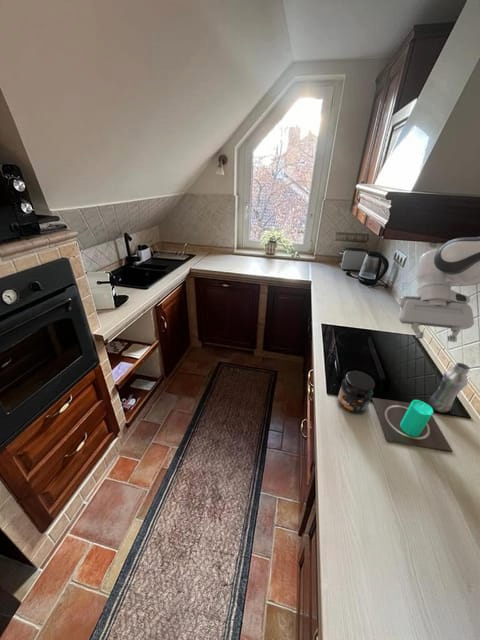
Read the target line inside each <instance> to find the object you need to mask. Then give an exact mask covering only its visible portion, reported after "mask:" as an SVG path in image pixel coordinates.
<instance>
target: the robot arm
mask: <svg viewBox="0 0 480 640" xmlns="http://www.w3.org/2000/svg"><path fill="white" fill-rule="evenodd" d="M416 281H417V284H418V285H417V289H416V292H417V293H416V296H415V295H414V296H411V295H404V296H402V297H400V299H399V306H400V309H399V315H398V320H399V322H400V323H401V324H407V325H410V326H411V327H410V328H411V329H412V330H413V332H414V333H415V338H416V339H423V338H424V336H425V335H424V331H422V330H421V329H420V326H427V327H434V328H435V327H436V328H444V329H450V331H451V334H450V335H447V342H450V343H455V342H457V341H458V339H457V338H458V335H459V333H460V332H461V330H467V329H471V328H473V326H474V325H475V324H474V323H475V320H474V319H475V318H474V312H473V309H472V307H471V305H470V304H469V303H470V302H471V298H470V297H469V296H468V295H465V294H463V293H460V292H457V291H455V290H453V289H452V287H467V286H474V285H477V284H480V236H476V237H475V236H473V237H472V236H471V237H469V236H467V237H457V238H454V239H451V240H448V241H447V242H445V243H443V244H442V245H441V246H440V247H439V248H436V249H435V248H434V249H432V250H429V251H426V252H424V253H422V255H420V257H419V258H418V261H417V265H416Z"/></svg>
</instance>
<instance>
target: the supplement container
mask: <svg viewBox="0 0 480 640" xmlns="http://www.w3.org/2000/svg"><path fill="white" fill-rule="evenodd" d="M375 386H376V383H375V380H374V379H373V378H372V376H370V375H369V374H367V373H365V372H363V371H360V370H351V371H348V372H347V373H346V374H345V376H344V378H343V379H342V381H341V384H340V389H339V391H338V394H337V402H338V404H339V406H340V407H341V408H342V409H343V410H345V411H346V412H348V413H351V414H354V415H361V414H364V413H366V412H367V410H368V408H369V406H370V402H371V401H372V398H373V396H374V394H375V390H374V389H375Z"/></svg>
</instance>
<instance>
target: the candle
mask: <svg viewBox="0 0 480 640" xmlns="http://www.w3.org/2000/svg"><path fill="white" fill-rule="evenodd" d="M410 403H411V404H410V406H409V408H408V409H407V411H406V413H405V415H404V417H403V419H402V421H401V423H400V427H401V429H402V430H403V431H404V432H405V433H407V434H408V435H411V436H419V435H420V434H421V432H422V430H423V429H424V427H425V425H426V424H427V422H428V421H429V419H430V417H431V416H433V414H434V409H433V408H431V406H430V404H429V403H426V402H424V401H422V400H420V399H412V401H411V402H410Z"/></svg>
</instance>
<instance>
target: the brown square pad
mask: <svg viewBox="0 0 480 640" xmlns="http://www.w3.org/2000/svg"><path fill="white" fill-rule="evenodd" d="M371 402H372V405H373V407H374V410H375V412H376V415H377V416H376V417H377V419H378V421H379V424H380V427H381V430H382V433H383V435H384V439H385V441H386V442H387V443H393V444H400V445H405V446H412V447H419V448H425V449H430V450H436V451H442V452H449V453H452V452H453V449H452V447H451V445H450V443H449V442H448V440H447V439H446V437H445V436H444V433H443V432H442V430H441V429H440V427H439V425H438V423H437V421H436V420H435V418H434V416H433V415H432V416H431V417H430V419H429V421H428V422H427V424H426V425H425V427H424V429H423V430H422V432H421V434H420V435H419V436H411V435H408V434H407V433H405V432H404V431H403V430H402V429H401V427H400V423H401V421H402V419H403V417H404V415H405V413H406V411H407V409H408V408H409V406H410V404H411V402H405V401H399V400H391V399H384V398H378V397H372V398H371Z"/></svg>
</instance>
